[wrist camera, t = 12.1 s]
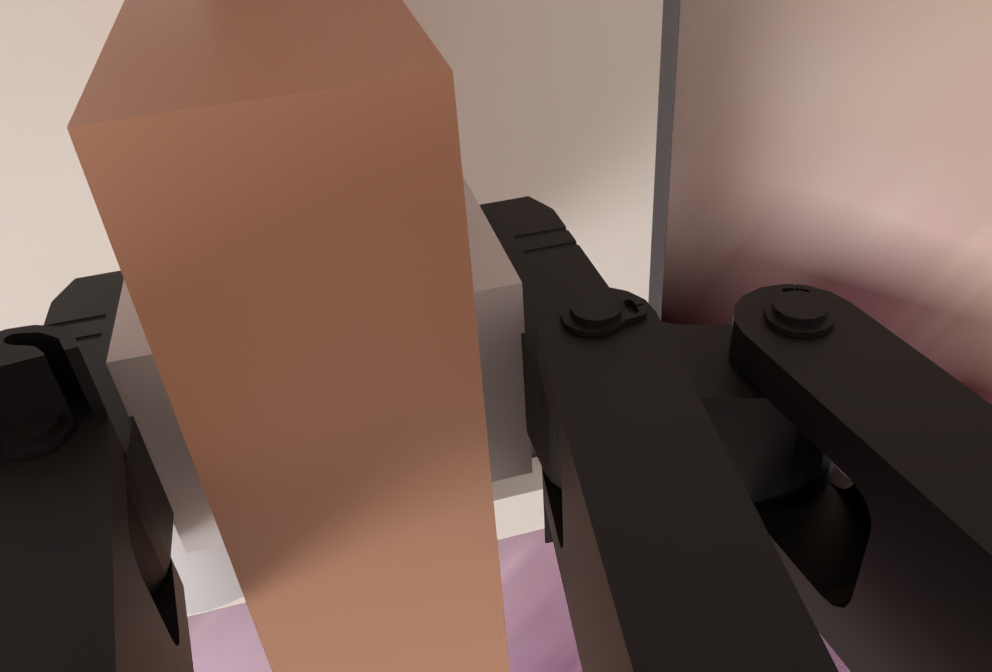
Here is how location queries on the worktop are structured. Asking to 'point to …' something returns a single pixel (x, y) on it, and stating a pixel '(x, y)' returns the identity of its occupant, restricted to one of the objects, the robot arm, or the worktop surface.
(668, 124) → the boss board
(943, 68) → the worktop surface
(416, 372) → the keyhole plate
